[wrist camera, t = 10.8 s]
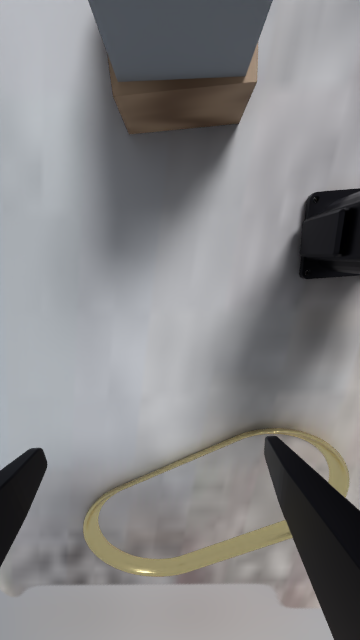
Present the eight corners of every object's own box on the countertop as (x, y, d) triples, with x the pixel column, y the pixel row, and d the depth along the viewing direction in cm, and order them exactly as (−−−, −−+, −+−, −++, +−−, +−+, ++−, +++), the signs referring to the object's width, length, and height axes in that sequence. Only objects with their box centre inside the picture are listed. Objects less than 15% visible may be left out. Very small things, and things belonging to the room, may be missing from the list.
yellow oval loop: (59, 503, 27) (52, 518, 26) (309, 394, 22) (319, 404, 21) (136, 574, 32) (134, 589, 31) (357, 498, 27) (368, 513, 25)
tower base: (238, -34, 13) (263, -160, 9) (237, 126, 15) (257, 81, 11) (111, -19, 13) (81, -135, 9) (130, 136, 15) (113, 96, 11)
